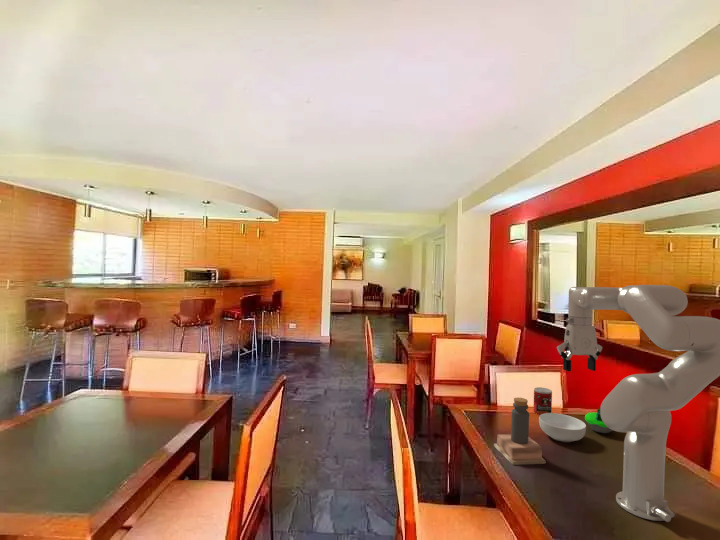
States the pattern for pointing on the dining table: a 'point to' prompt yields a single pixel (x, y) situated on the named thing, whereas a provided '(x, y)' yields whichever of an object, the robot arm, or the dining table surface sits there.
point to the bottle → (520, 421)
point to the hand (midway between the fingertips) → (579, 370)
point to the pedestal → (519, 450)
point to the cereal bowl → (562, 427)
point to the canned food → (542, 400)
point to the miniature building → (596, 422)
